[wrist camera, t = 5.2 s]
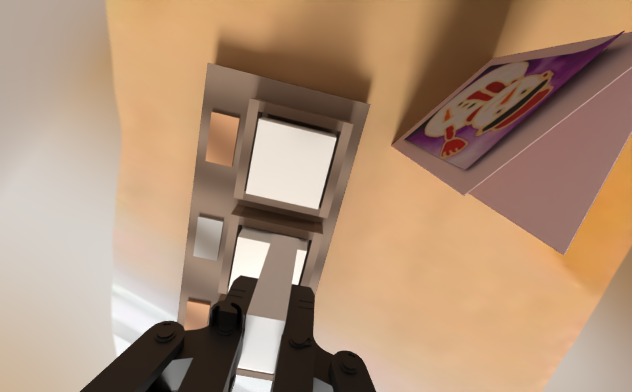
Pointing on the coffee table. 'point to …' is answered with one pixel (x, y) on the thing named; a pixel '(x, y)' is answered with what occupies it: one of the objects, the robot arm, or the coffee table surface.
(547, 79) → the greeting card
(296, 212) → the button board
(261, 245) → the button middle
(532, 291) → the coffee table surface
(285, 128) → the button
